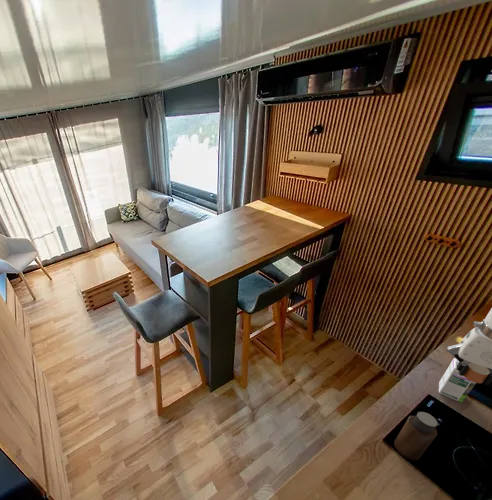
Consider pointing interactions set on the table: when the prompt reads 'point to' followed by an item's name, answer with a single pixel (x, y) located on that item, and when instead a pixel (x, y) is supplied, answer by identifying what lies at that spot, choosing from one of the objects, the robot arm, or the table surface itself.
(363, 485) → the table surface
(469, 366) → the orange jar cap
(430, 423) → the grey short cylinder
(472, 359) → the robot arm
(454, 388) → the syrup box
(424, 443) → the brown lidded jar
